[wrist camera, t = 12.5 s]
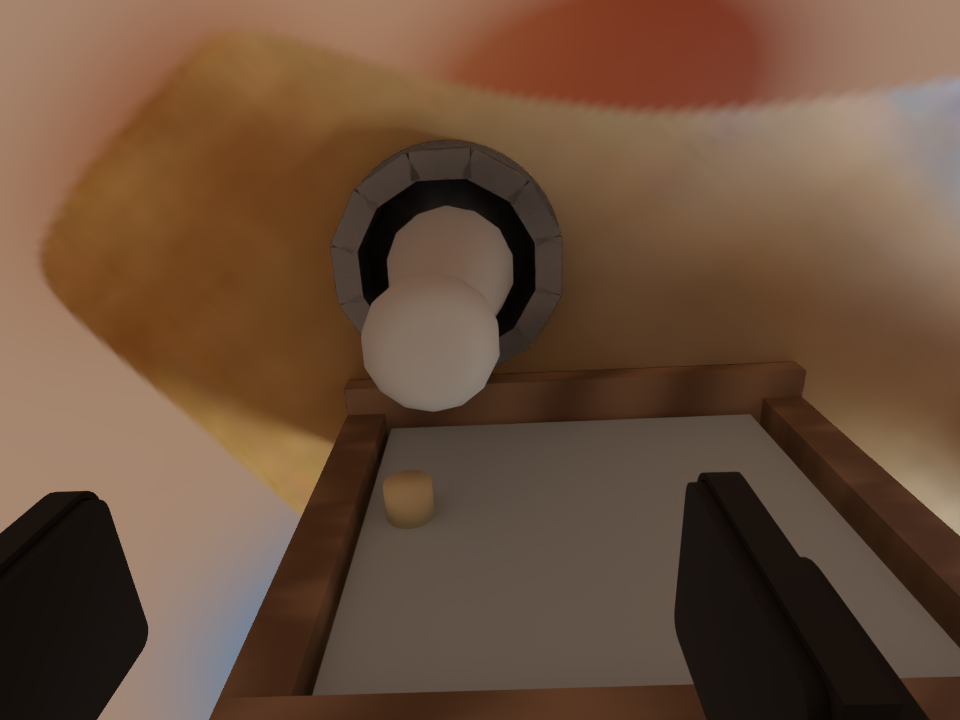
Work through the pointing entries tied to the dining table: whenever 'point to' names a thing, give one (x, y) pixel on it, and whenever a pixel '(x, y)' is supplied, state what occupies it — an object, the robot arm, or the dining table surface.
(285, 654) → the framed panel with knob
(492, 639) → the door
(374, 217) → the socket
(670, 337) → the dining table surface
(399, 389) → the salt shaker
